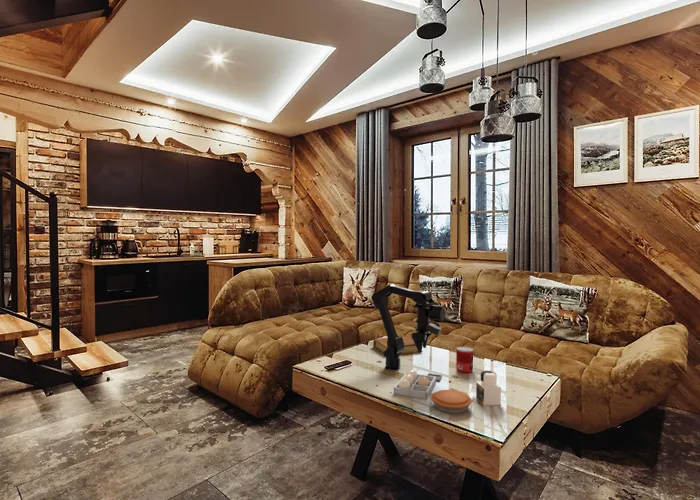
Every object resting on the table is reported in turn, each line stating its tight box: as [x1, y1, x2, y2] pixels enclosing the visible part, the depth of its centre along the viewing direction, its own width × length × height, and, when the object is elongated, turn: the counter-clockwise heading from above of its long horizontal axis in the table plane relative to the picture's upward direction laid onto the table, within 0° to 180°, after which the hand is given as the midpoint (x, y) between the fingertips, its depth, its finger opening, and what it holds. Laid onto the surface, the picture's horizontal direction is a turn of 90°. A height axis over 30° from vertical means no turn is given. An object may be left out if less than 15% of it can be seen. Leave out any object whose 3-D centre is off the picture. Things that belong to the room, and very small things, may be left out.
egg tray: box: [393, 372, 437, 400], centre depth 171 cm, size 14×20×3 cm
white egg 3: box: [398, 379, 410, 389], centre depth 166 cm, size 5×5×5 cm
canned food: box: [455, 346, 474, 374], centre depth 194 cm, size 8×8×11 cm
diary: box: [372, 335, 423, 355], centre depth 231 cm, size 23×19×6 cm
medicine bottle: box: [475, 370, 502, 407], centre depth 156 cm, size 7×7×12 cm
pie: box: [430, 389, 473, 414], centre depth 151 cm, size 15×16×5 cm
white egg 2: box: [402, 374, 414, 384], centre depth 172 cm, size 5×5×5 cm
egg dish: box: [427, 372, 443, 382], centre depth 183 cm, size 6×6×1 cm
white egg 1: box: [406, 369, 418, 379], centre depth 178 cm, size 5×5×5 cm
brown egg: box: [418, 377, 429, 386], centre depth 169 cm, size 5×5×5 cm
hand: (422, 350), depth 187 cm, fingers open, 9 cm apart
